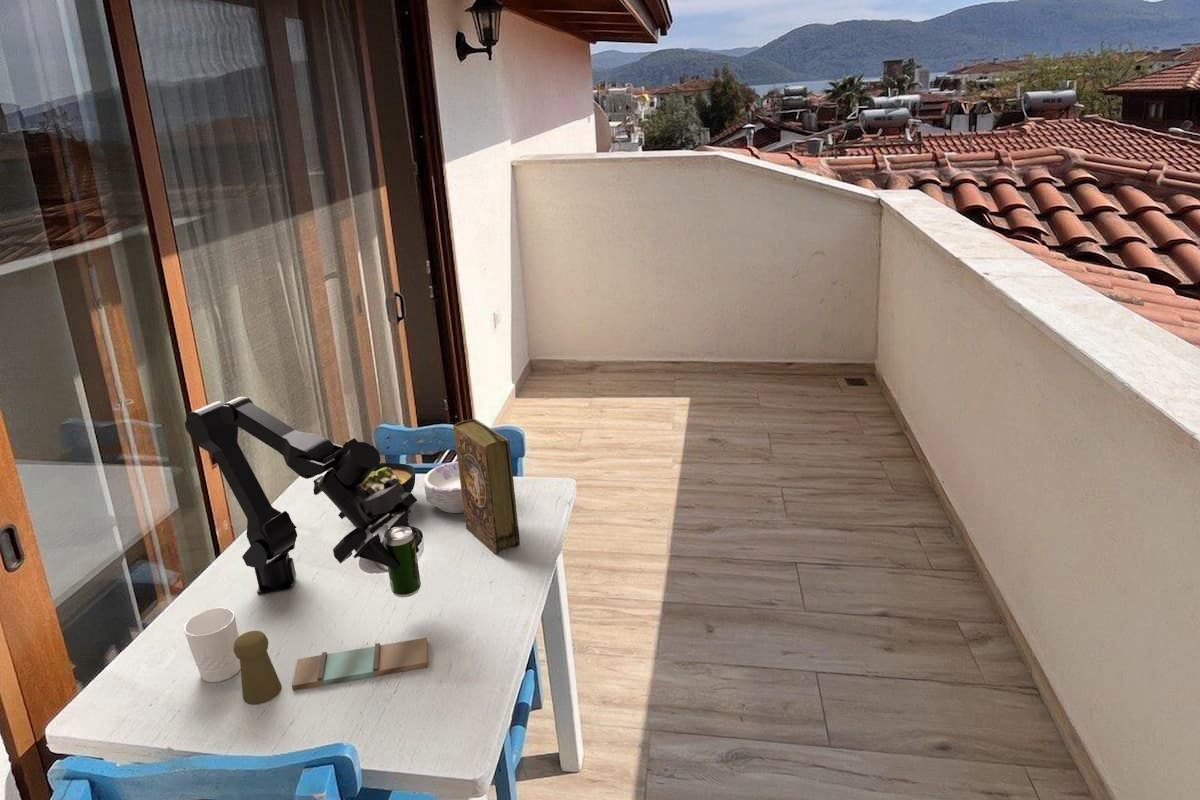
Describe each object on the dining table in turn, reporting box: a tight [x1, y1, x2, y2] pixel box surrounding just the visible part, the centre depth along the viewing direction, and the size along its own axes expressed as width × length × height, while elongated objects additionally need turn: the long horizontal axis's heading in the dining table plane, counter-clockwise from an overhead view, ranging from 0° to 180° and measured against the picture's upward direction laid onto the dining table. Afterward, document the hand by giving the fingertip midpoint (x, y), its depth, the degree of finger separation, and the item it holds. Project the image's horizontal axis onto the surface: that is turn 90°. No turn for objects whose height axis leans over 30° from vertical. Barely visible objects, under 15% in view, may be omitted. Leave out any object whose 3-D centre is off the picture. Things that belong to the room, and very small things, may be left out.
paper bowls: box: [423, 461, 464, 514], centre depth 193 cm, size 15×15×8 cm
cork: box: [233, 630, 283, 706], centre depth 133 cm, size 6×6×11 cm
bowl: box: [361, 462, 416, 495], centre depth 193 cm, size 17×17×10 cm
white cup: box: [183, 607, 241, 683], centre depth 140 cm, size 8×8×10 cm
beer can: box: [383, 526, 422, 598], centre depth 149 cm, size 5×5×12 cm
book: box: [452, 418, 521, 555], centre depth 175 cm, size 16×6×25 cm, turn 34°
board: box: [291, 637, 429, 691], centre depth 140 cm, size 22×7×2 cm, turn 101°
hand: (408, 560), depth 148 cm, fingers closed on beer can, 5 cm apart
